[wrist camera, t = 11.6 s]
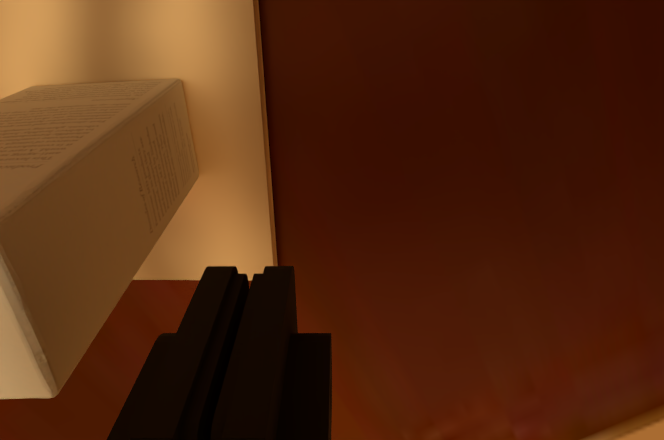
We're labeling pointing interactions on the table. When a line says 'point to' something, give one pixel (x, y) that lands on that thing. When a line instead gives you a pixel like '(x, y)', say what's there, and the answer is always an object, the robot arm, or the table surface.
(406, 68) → the table surface
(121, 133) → the skincare box
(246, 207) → the board
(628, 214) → the table surface
